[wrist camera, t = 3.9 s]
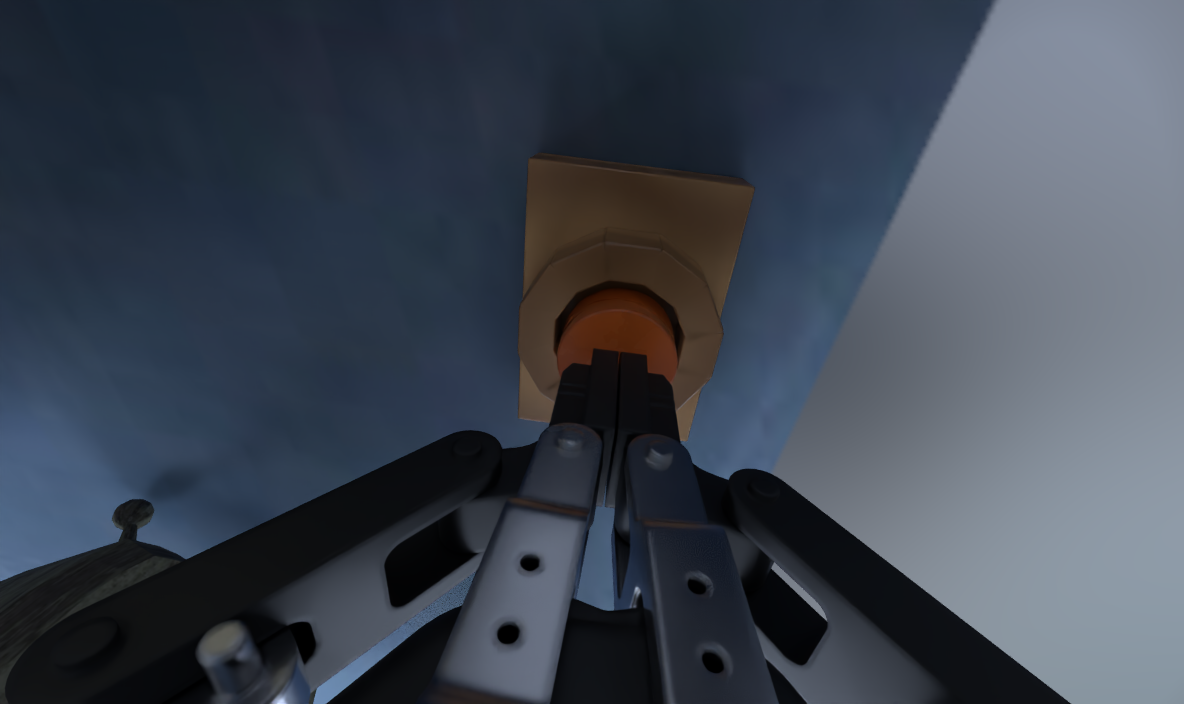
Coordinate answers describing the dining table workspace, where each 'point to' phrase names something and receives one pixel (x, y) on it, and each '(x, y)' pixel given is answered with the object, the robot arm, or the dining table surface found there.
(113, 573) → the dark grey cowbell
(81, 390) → the dining table surface
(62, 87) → the dining table surface
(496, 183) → the dining table surface
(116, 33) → the dining table surface
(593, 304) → the button
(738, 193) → the block
